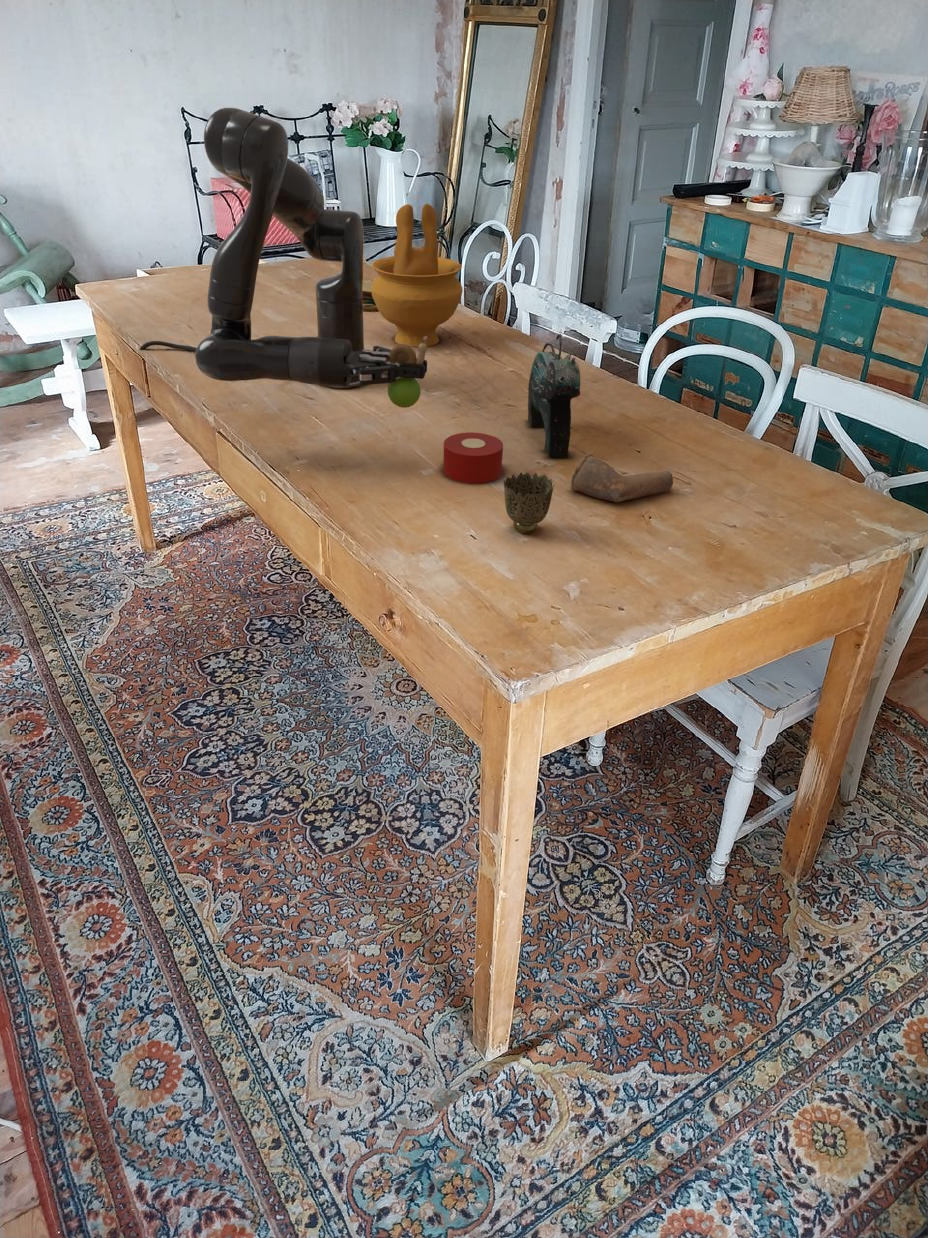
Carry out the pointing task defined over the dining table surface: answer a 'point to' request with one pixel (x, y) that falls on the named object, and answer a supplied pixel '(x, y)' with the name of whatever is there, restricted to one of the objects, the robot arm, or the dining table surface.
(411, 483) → the dining table surface
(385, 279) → the decorative bowl
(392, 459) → the dining table surface
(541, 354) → the ceramic cat
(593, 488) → the pipe
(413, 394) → the snail figurine
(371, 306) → the toy sandwich meal
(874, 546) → the dining table surface
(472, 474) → the cheese
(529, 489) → the cup
